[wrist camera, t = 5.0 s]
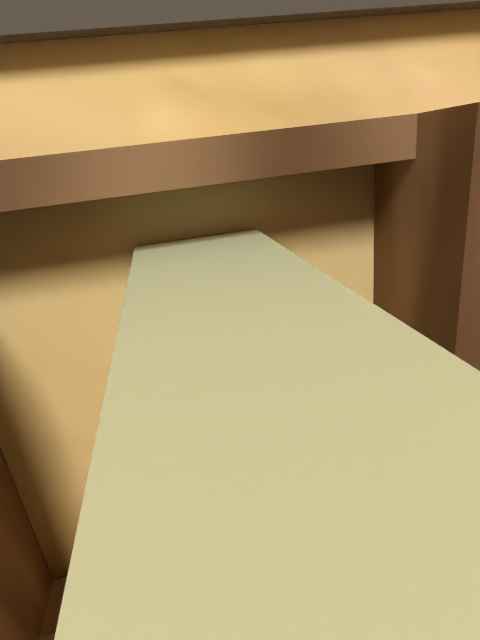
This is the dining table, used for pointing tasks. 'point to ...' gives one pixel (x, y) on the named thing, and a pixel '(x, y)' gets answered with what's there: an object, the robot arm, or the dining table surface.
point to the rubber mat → (184, 14)
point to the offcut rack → (262, 162)
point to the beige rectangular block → (274, 462)
